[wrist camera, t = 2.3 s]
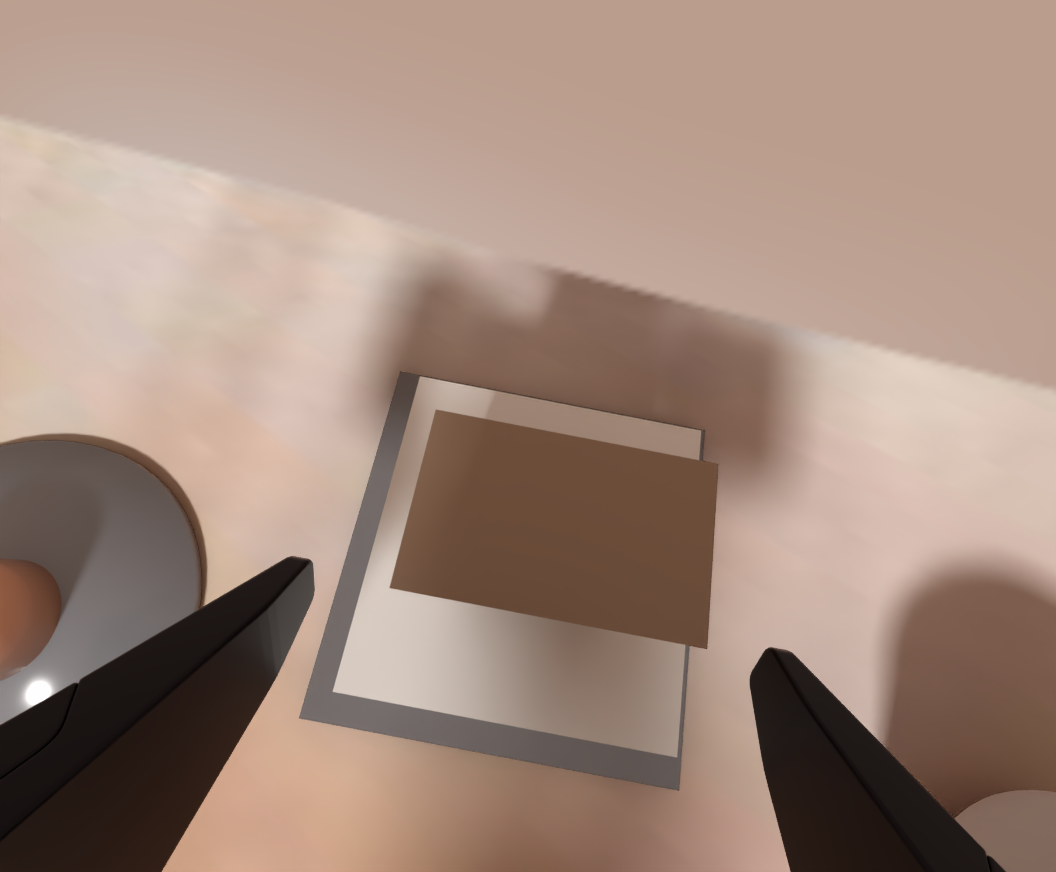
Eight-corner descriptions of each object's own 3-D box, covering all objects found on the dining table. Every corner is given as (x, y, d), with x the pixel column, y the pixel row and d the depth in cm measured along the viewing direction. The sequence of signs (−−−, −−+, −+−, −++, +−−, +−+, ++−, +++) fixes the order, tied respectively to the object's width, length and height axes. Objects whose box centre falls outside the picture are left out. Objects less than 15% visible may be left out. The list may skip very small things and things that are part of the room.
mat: (673, 784, 18) (679, 790, 17) (305, 713, 18) (298, 718, 17) (699, 434, 22) (704, 430, 21) (402, 377, 22) (400, 371, 21)
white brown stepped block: (619, 701, 18) (837, 914, 6) (385, 656, 18) (184, 789, 6) (644, 472, 21) (829, 335, 9) (441, 433, 21) (371, 246, 9)
